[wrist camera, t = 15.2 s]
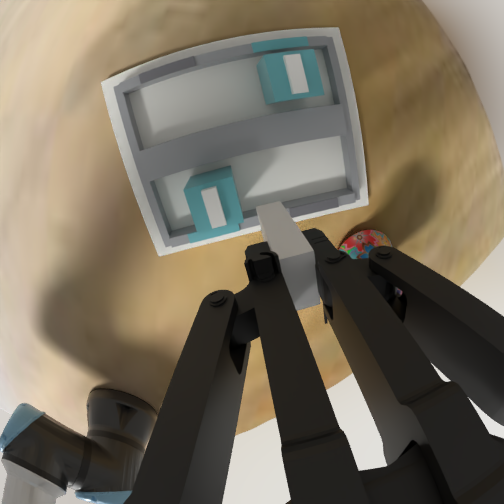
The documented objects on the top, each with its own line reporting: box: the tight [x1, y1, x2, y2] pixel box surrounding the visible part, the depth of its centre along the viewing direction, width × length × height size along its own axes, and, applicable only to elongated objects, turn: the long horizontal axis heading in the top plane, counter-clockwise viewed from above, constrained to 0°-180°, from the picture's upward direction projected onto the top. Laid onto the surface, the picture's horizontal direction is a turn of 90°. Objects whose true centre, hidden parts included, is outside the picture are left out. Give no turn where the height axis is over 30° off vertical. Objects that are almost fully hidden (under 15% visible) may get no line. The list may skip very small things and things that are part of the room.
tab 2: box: [256, 49, 324, 105], centre depth 20 cm, size 4×4×6 cm
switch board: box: [101, 27, 369, 257], centre depth 24 cm, size 24×20×3 cm
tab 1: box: [183, 165, 244, 234], centre depth 24 cm, size 4×4×6 cm
